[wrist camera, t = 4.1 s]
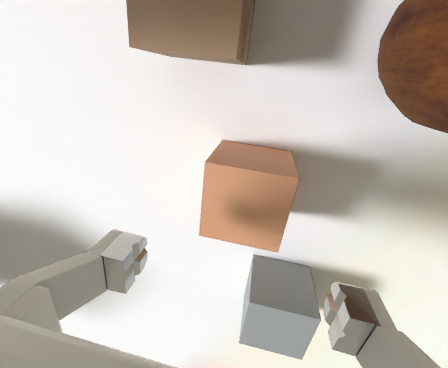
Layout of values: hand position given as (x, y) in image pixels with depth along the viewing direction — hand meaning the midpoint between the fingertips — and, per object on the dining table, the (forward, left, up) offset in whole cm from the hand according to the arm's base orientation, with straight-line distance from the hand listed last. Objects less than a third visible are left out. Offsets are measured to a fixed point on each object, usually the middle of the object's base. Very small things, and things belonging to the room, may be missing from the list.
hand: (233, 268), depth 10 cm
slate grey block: (+9, +4, -9) cm, 13 cm away
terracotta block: (-1, 0, -9) cm, 9 cm away
